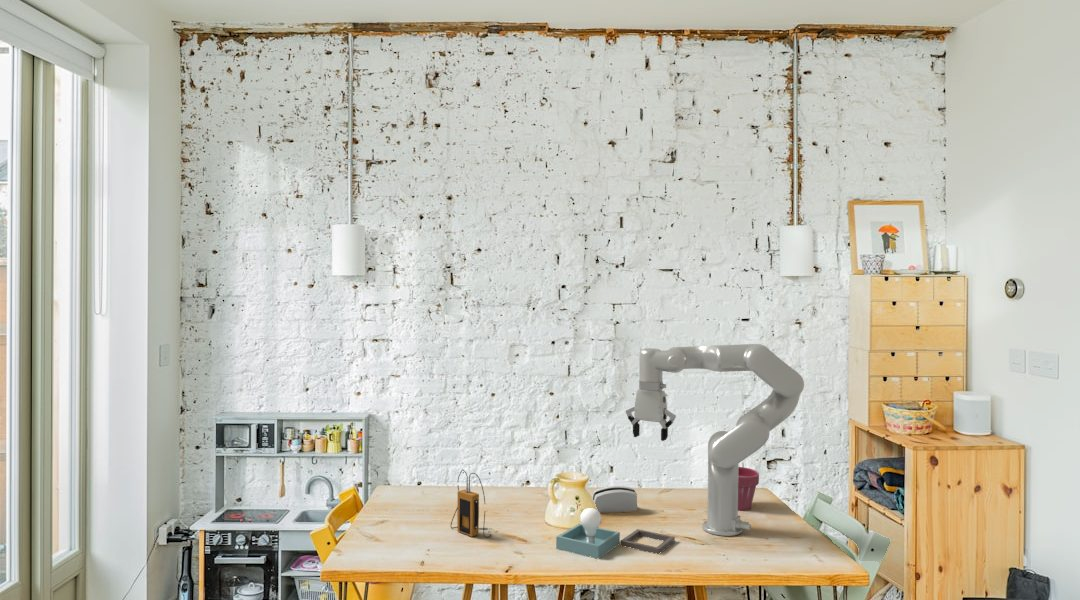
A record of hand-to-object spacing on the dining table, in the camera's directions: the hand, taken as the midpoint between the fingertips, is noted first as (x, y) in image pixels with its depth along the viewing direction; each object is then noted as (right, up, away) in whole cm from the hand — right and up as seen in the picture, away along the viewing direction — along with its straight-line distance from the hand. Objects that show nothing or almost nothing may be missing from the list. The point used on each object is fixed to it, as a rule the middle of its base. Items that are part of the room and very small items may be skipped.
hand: (650, 438), depth 233 cm
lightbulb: (-21, -28, -21) cm, 41 cm away
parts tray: (-22, -28, -20) cm, 41 cm away
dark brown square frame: (-3, -29, -18) cm, 34 cm away
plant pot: (+34, -29, +20) cm, 49 cm away
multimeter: (-56, -28, -8) cm, 63 cm away
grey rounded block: (-10, -28, +14) cm, 33 cm away
